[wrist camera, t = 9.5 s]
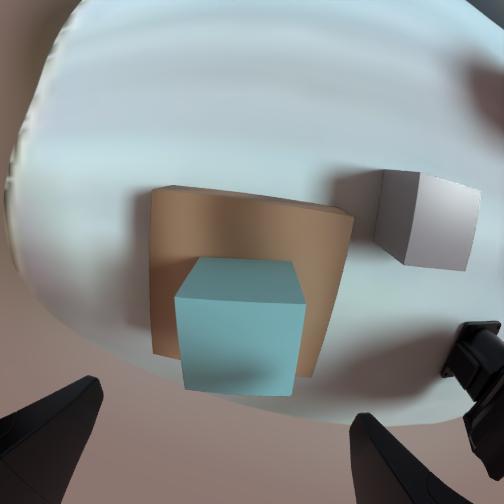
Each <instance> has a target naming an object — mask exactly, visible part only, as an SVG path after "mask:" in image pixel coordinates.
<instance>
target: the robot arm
mask: <svg viewBox="0 0 504 504" xmlns="http://www.w3.org/2000/svg"><path fill="white" fill-rule="evenodd" d="M500 327H501V323H500V322H499V321H494V322H469V323H466V324H465V325H464V326H463V328H462V330H461V333H460V335H459V337H458V339H457V341H456V344H455V346H454V348H453V350H452V352H451V354H450V356H449V358H448V360H447V362H446V364H445V366H444V368H443V369H442V371H441V373H440V375H441V377H442V378H447V377H454V376H455V378H456V379H457V381H458V382H459V383H460V385H461V386H462V388H463V389H464V390H466V391H467V393H468V394H469V396H470V397H471V399H472V400H473V402H476V401H477V402H476V403H475V404H474V406H473V407H472V408H471V409H470V410H469V411H468V412H466V413H465V415H464V416H463V420H464V423H465V427H466V431H467V434H468V438H469V442H470V445H471V449H472V452H473V453H475V455H476V456H477V457H478V458H479V459H481V461H482V462H483V464H484V466H485V467H486V470H487V472H488V475H489V477H490V478H492V479H494V480H496V481H499V480H500V479H501V478H503V477H504V342H503V341H502V340H501V339H500V338H499V337H498V336H497V334H498V332H499V330H500ZM103 397H104V395H103V390H102V387H101V384H100V381H99V379H98V378H96V377H93V376H90V375H88V376H85V377H83V378H81V379H80V380H77V381H76V382H74V383H72V384H70V385H68V386H66V387H64V388H62V389H60V390H59V391H56V392H54V393H53V394H51V395H48V396H46V397H44V398H42V399H40V400H38V401H36V402H34V403H32V404H30V405H28V406H26V407H24V408H22V409H20V410H18V411H17V412H14V413H12V414H10V415H8V416H5V417H3V418H1V419H0V504H61V501H62V499H63V497H64V494H65V492H66V489H67V487H68V484H69V482H70V479H71V477H72V475H73V472H74V470H75V468H76V465H77V463H78V461H79V459H80V456H81V454H82V452H83V450H84V447H85V445H86V443H87V441H88V439H89V437H90V435H91V432H92V430H93V427H94V424H95V421H96V418H97V415H98V412H99V409H100V406H101V403H102V401H103ZM349 436H350V455H351V470H352V476H353V483H354V489H355V496H356V503H357V504H473V503H471V502H470V501H468V500H467V499H465V498H464V497H462V496H461V495H459V494H458V493H456V492H455V491H454V490H452V489H451V488H450V487H448V486H447V485H446V484H444V483H443V482H442V481H441V480H440V479H439V478H437V477H436V476H435V475H434V474H433V473H432V472H431V471H430V472H429V470H428V469H427V468H426V467H425V466H424V465H423V464H422V463H421V462H420V461H419V460H418V459H417V458H416V457H415V456H414V455H413V454H412V453H410V451H409V450H407V449H406V448H405V447H404V446H403V445H402V444H401V443H400V442H399V441H398V440H397V439H396V438H395V437H394V436H393V435H392V434H391V433H390V432H389V431H388V430H387V429H386V428H385V427H384V426H383V425H382V424H381V423H380V422H379V421H378V420H377V419H376V418H375V417H374V416H373V415H372V414H370V413H368V412H367V413H359V414H357V416H356V417H355V419H354V421H353V423H352V425H351V426H350V431H349Z"/></svg>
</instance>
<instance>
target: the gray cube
mask: <svg viewBox="0 0 504 504" xmlns="http://www.w3.org/2000/svg"><path fill="white" fill-rule="evenodd" d="M481 194H482V192H481V191H479V190H476V189H473V188H470V187H467V186H464V185H461V184H458V183H455V182H452V181H448V180H445V179H442V178H438V177H435V176H432V175H428V174H424V173H421V172H411V171H400V170H387V169H384V171H383V179H382V187H381V195H380V201H379V208H378V214H377V220H376V226H375V232H374V237H373V241H374V242H375V243H376V244H378V245H379V246H380V247H381V248H383V249H384V250H385V251H387V252H388V253H389V254H390V255H392V256H393V257H394V258H395V259H397V260H398V261H399V262H400V263H402V264H403V265H408V266H417V267H427V268H437V269H446V270H456V271H465V270H466V267H467V263H468V260H469V256H470V252H471V248H472V243H473V239H474V234H475V230H476V224H477V219H478V213H479V207H480V201H481Z"/></svg>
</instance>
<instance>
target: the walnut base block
mask: <svg viewBox="0 0 504 504" xmlns="http://www.w3.org/2000/svg"><path fill="white" fill-rule="evenodd" d="M354 219H355V217H353V216H352V215H350V214H348V213H347V212H345V211H343V210H342V209H340V208H337V207H331V206H326V205H320V204H314V203H308V202H302V201H296V200H289V199H283V198H276V197H269V196H262V195H255V194H248V193H240V192H232V191H223V190H215V189H206V188H196V187H186V186H176V185H172V186H167V187H162V188H158V189H153V190H152V202H151V221H150V257H149V279H150V315H151V333H152V347H153V354H157V355H161V356H165V357H170V358H174V359H179V360H181V357H180V349H179V340H178V331H177V321H176V310H175V298H174V297H175V295H176V294H177V292H178V291H179V289H180V287H181V286H182V284H183V283H184V281H185V279H186V278H187V276H188V275H189V273H190V272H191V270H192V268H193V267H194V265H195V264H196V262H197V261H198V259H199V257H213V258H233V259H254V260H276V261H292V263H293V266H294V268H295V271H296V274H297V277H298V280H299V283H300V286H301V289H302V293H303V296H304V299H305V302H306V310H305V317H304V324H303V330H302V337H301V343H300V349H299V355H298V361H297V367H296V372H295V376H301V377H312V374H313V371H314V368H315V365H316V362H317V359H318V356H319V353H320V350H321V347H322V344H323V340H324V337H325V334H326V331H327V327H328V324H329V321H330V317H331V314H332V310H333V307H334V303H335V300H336V296H337V292H338V288H339V285H340V281H341V277H342V273H343V269H344V264H345V260H346V256H347V252H348V247H349V243H350V238H351V233H352V229H353V224H354Z"/></svg>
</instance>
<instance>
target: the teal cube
mask: <svg viewBox="0 0 504 504" xmlns="http://www.w3.org/2000/svg"><path fill="white" fill-rule="evenodd" d="M174 298H175V310H176V321H177V331H178V340H179V349H180V357H181V364H182V372H183V379H184V386H185V389H186V390H195V391H203V392H213V393H224V394H238V395H259V396H291V394H292V389H293V383H294V378H295V372H296V367H297V361H298V355H299V349H300V343H301V337H302V330H303V324H304V317H305V310H306V302H305V299H304V296H303V293H302V289H301V286H300V283H299V280H298V277H297V274H296V271H295V268H294V266H293V263H292V261H276V260H254V259H233V258H213V257H199V259H198V261H197V262H196V264H195V265H194V267H193V268H192V270H191V272H190V273H189V275H188V276H187V278H186V279H185V281H184V283H183V284H182V286H181V287H180V289H179V291H178V292H177V294H176V295H175V297H174Z"/></svg>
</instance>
